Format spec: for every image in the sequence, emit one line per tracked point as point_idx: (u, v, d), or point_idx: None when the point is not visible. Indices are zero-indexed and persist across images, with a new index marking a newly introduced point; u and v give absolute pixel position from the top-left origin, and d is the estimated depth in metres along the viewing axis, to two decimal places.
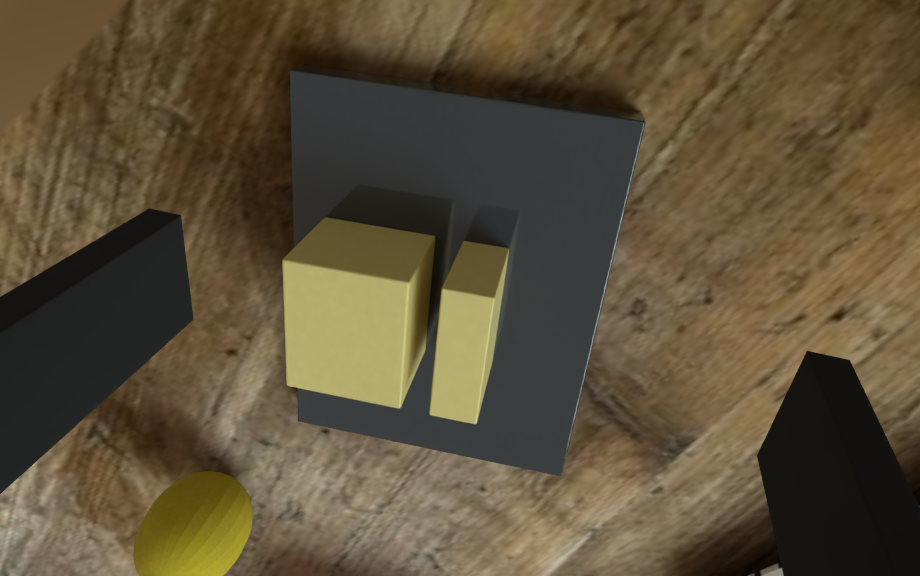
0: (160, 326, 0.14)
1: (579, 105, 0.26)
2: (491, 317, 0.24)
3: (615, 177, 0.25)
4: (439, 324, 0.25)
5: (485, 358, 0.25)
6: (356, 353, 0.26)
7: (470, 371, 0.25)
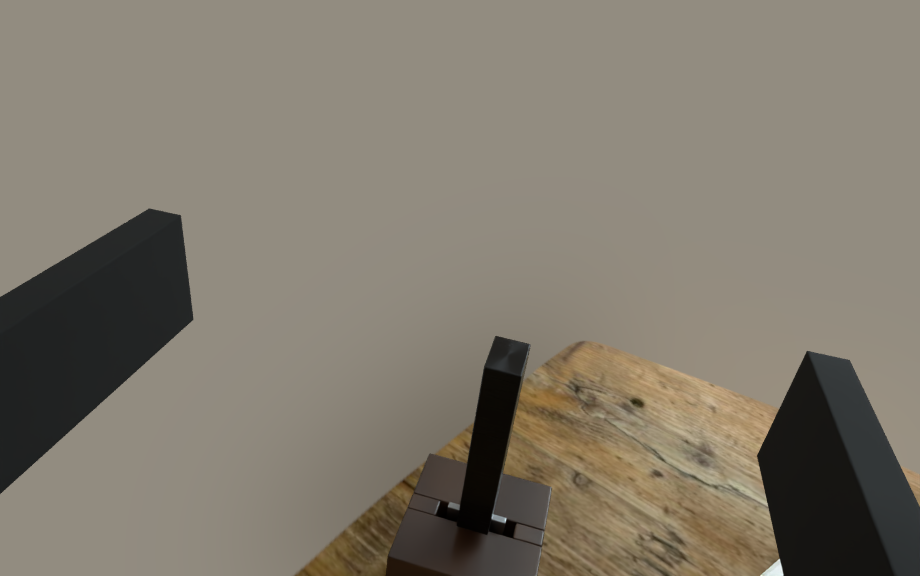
0: (160, 326, 0.14)
1: None
2: None
3: None
4: None
5: None
6: None
7: None
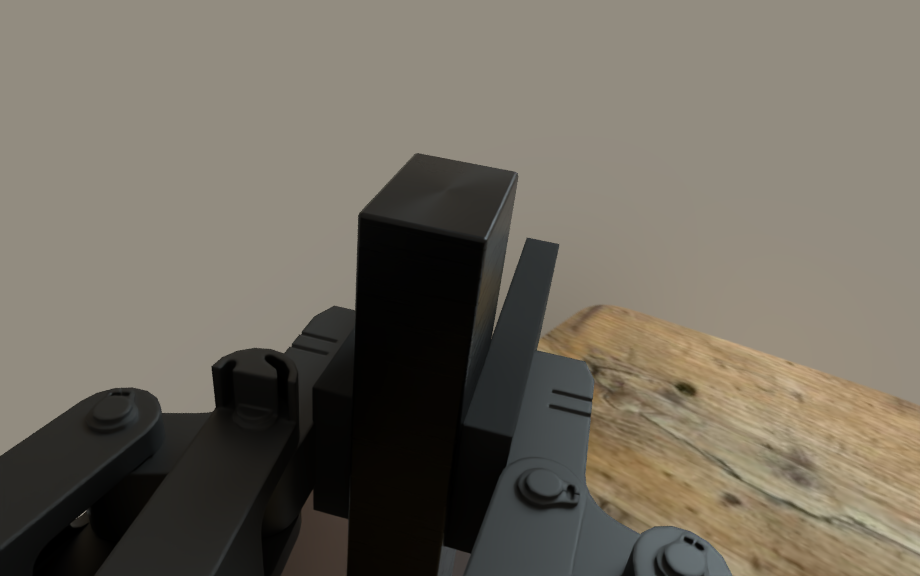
0: None
1: None
2: None
3: None
4: None
5: None
6: None
7: None
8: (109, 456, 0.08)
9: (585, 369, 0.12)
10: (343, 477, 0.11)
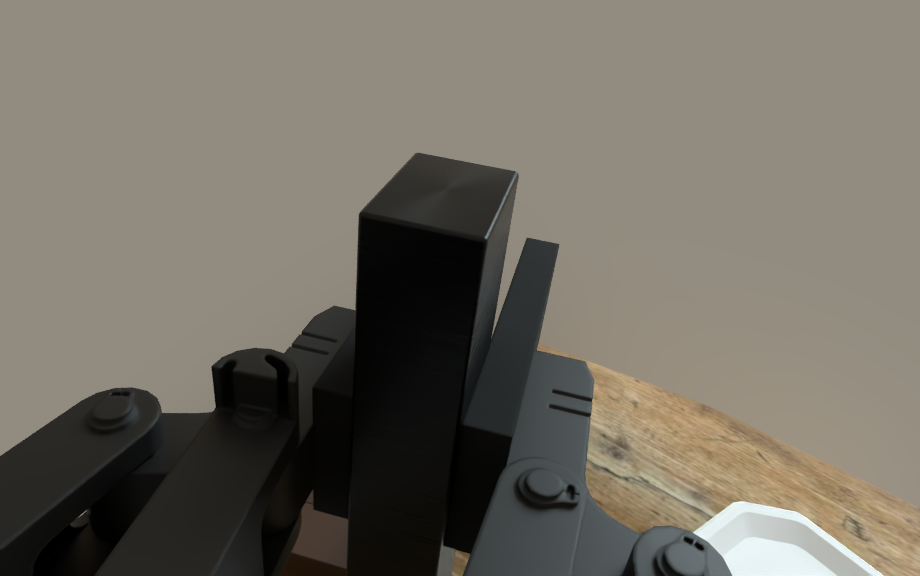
0: None
1: None
2: None
3: None
4: None
5: None
6: None
7: None
8: (109, 456, 0.08)
9: (585, 369, 0.12)
10: (343, 477, 0.11)
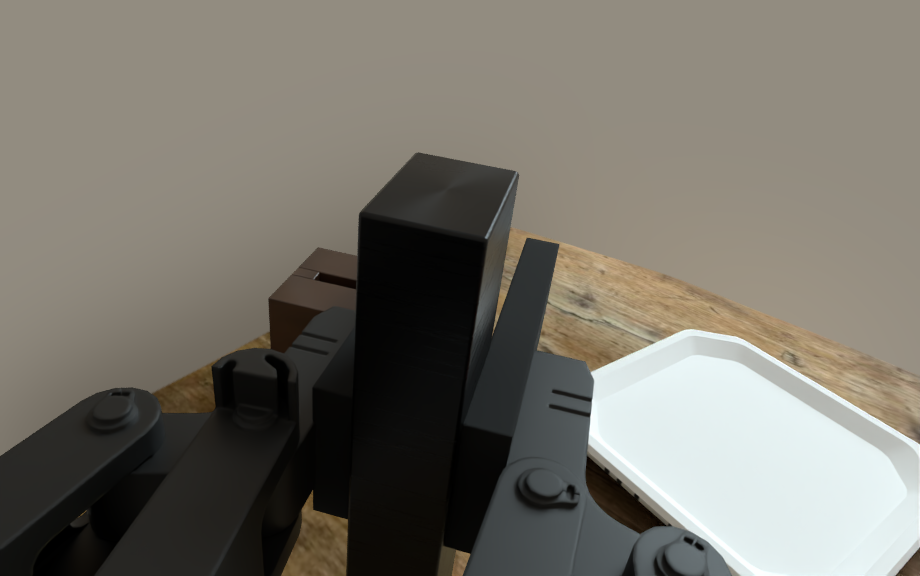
0: None
1: None
2: None
3: None
4: None
5: None
6: None
7: None
8: (109, 456, 0.08)
9: (585, 369, 0.12)
10: (343, 477, 0.11)
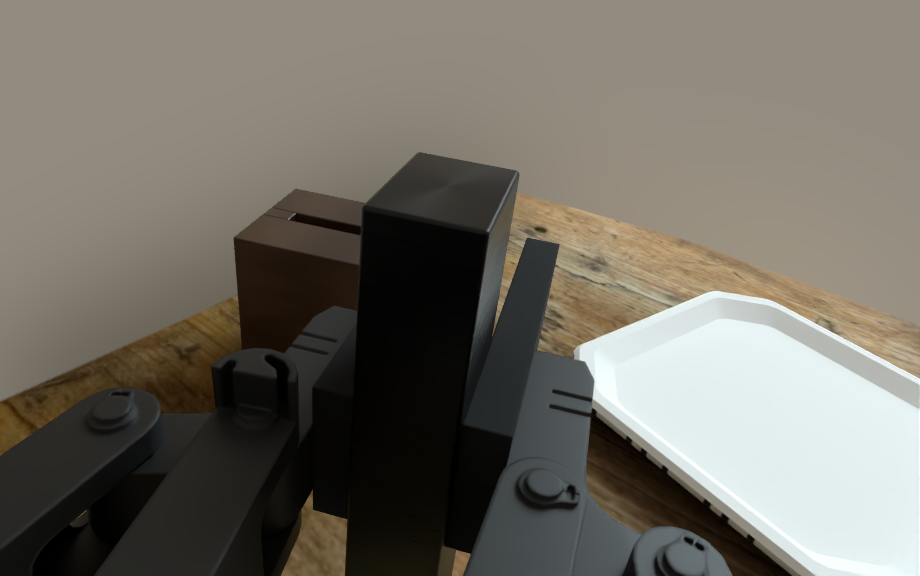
0: None
1: None
2: None
3: None
4: None
5: None
6: None
7: None
8: (109, 456, 0.08)
9: (586, 369, 0.12)
10: (343, 477, 0.11)
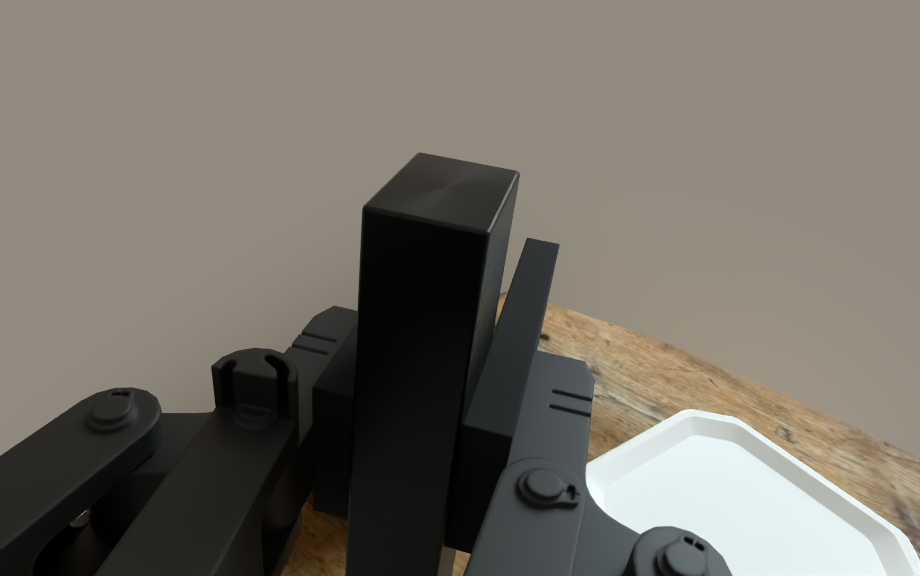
0: None
1: None
2: None
3: None
4: None
5: None
6: None
7: None
8: (109, 456, 0.08)
9: (586, 368, 0.12)
10: (343, 477, 0.11)
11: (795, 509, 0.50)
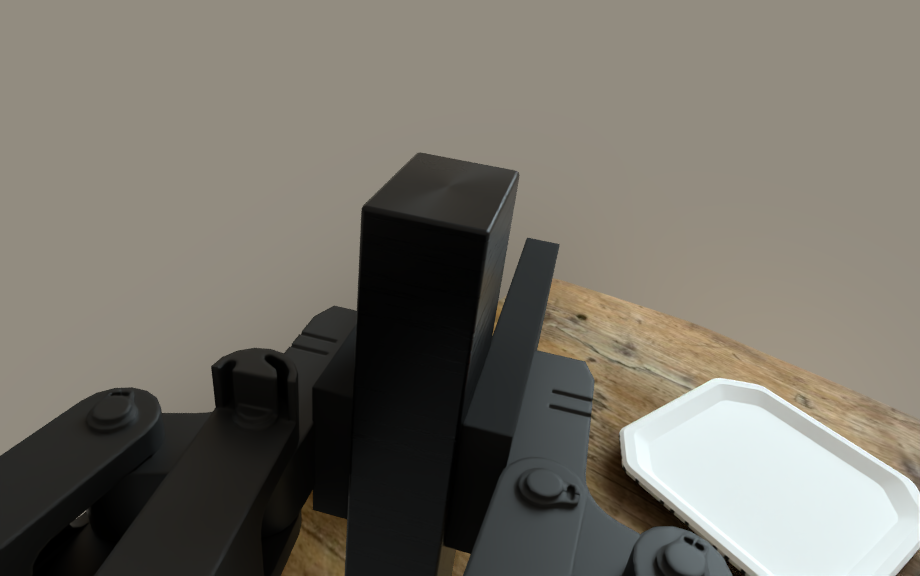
0: None
1: None
2: None
3: None
4: None
5: None
6: None
7: None
8: (109, 456, 0.08)
9: (586, 369, 0.12)
10: (343, 477, 0.11)
11: (816, 461, 0.56)
